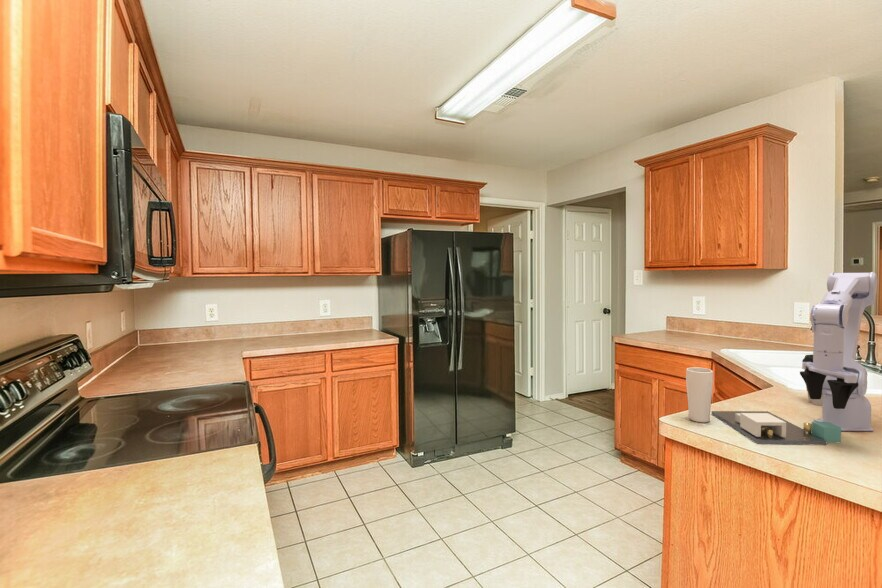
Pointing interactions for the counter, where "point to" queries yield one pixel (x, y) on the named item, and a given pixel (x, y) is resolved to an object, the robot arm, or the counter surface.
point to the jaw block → (827, 431)
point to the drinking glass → (699, 393)
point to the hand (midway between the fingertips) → (826, 403)
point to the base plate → (767, 435)
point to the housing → (760, 423)
